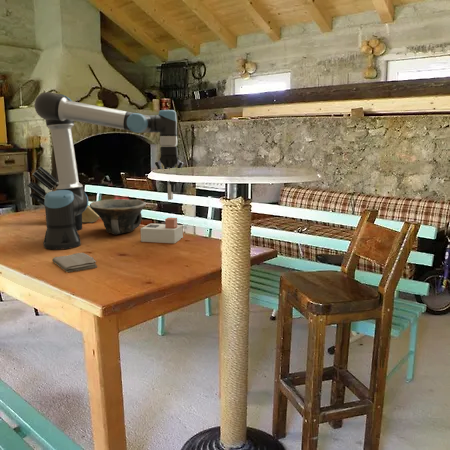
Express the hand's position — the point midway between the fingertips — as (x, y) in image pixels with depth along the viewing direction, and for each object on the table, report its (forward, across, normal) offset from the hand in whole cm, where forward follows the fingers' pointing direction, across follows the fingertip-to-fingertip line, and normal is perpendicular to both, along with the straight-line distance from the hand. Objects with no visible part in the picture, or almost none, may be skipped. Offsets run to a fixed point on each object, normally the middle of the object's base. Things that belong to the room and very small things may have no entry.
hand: (170, 199), depth 202 cm
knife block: (+18, +70, -26) cm, 77 cm away
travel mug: (+19, +56, -11) cm, 60 cm away
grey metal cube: (+17, +9, 0) cm, 19 cm away
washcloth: (+19, +22, +46) cm, 55 cm away
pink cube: (+13, 0, 0) cm, 13 cm away
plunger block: (+19, +4, 0) cm, 19 cm away
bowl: (+19, +30, -10) cm, 37 cm away
